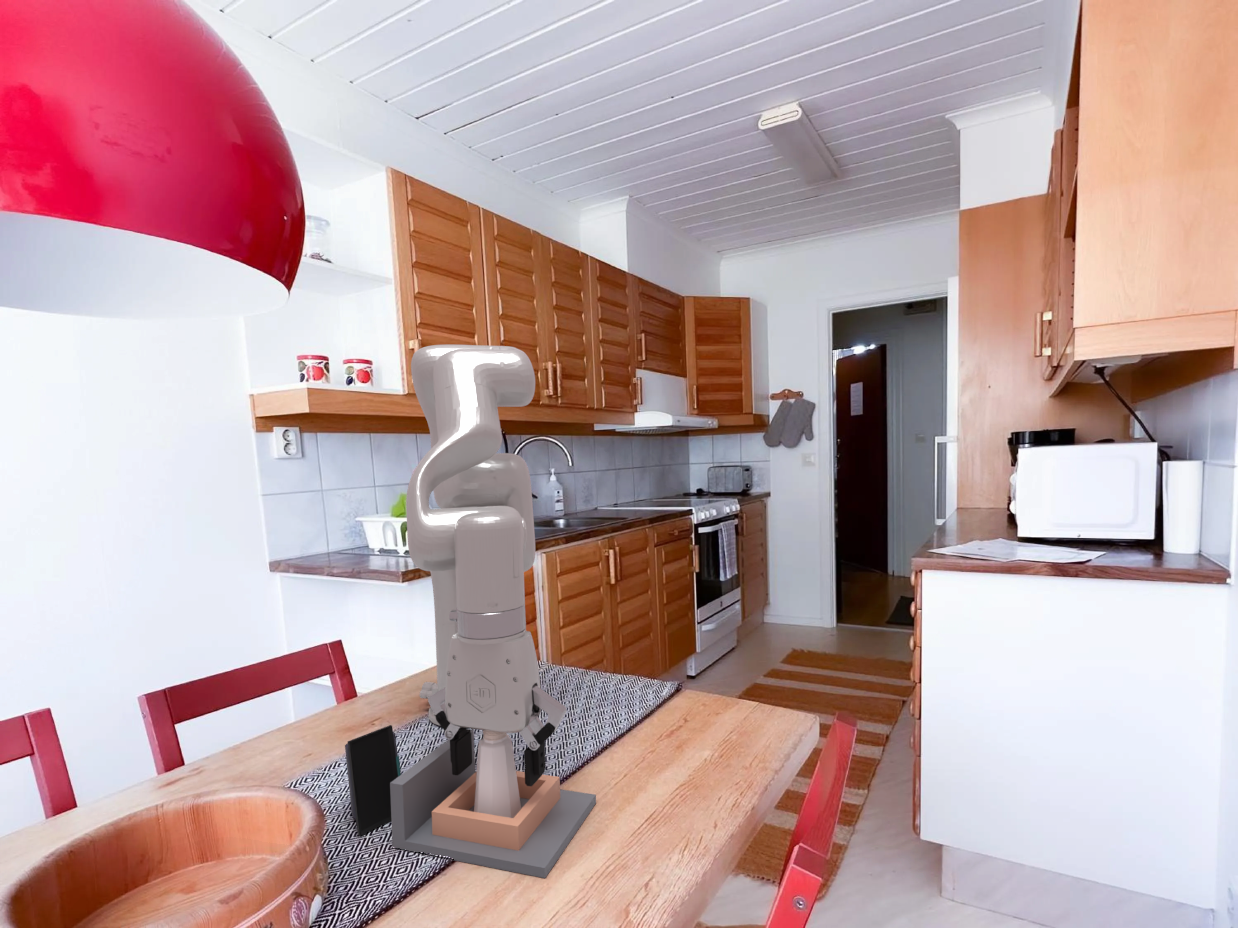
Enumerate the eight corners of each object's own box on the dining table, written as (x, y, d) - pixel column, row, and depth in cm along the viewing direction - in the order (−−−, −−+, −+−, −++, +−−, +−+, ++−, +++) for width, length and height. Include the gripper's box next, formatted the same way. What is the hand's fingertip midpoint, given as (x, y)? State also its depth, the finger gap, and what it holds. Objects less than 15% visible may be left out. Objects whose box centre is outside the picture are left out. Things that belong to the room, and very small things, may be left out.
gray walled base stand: (392, 847, 68) (389, 782, 68) (464, 782, 81) (462, 728, 81) (545, 878, 62) (542, 806, 62) (596, 802, 75) (593, 744, 75)
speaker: (411, 818, 73) (401, 727, 73) (358, 838, 70) (348, 742, 70) (399, 796, 79) (389, 712, 80) (349, 812, 76) (340, 725, 77)
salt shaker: (479, 802, 74) (475, 708, 74) (525, 800, 74) (522, 707, 74) (468, 829, 69) (464, 728, 69) (517, 827, 69) (514, 726, 69)
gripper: (406, 626, 71) (412, 781, 71) (547, 635, 65) (554, 803, 65) (445, 610, 78) (450, 750, 78) (576, 617, 72) (581, 768, 72)
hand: (497, 774), depth 71 cm, fingers open, 8 cm apart
